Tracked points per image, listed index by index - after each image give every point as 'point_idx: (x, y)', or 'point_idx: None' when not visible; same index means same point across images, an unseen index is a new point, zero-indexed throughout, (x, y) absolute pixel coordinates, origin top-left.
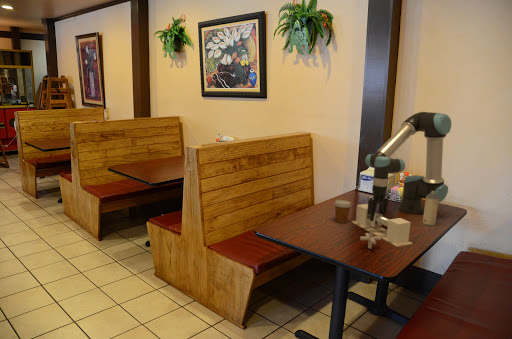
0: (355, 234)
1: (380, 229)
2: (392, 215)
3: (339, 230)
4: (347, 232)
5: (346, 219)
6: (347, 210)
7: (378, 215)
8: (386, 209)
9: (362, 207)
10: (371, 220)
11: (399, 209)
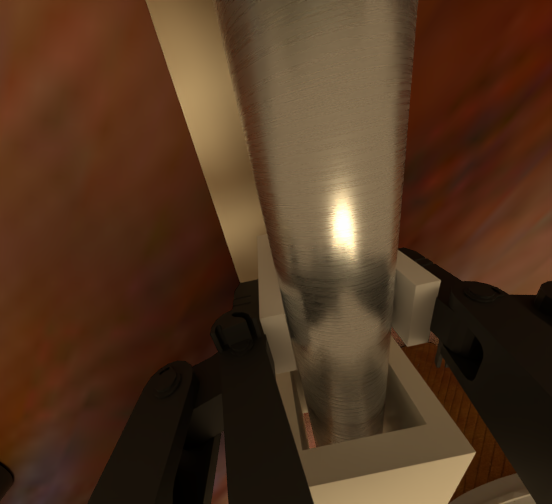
0: (507, 166)
1: (263, 221)
2: (70, 423)
3: (535, 251)
4: (523, 212)
5: (417, 364)
6: (486, 434)
7: (380, 279)
8: (126, 465)
9: (456, 486)
10: (411, 254)
11: (4, 476)
